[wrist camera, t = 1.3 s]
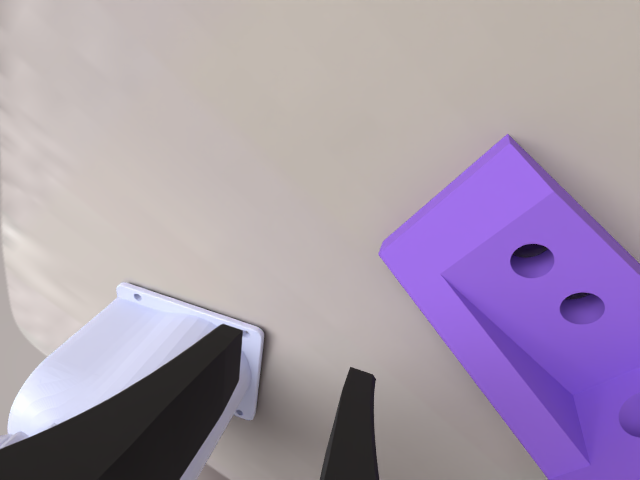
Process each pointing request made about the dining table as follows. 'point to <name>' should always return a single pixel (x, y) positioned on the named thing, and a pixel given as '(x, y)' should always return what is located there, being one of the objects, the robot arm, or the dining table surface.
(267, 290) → the dining table surface
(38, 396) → the robot arm
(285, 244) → the dining table surface
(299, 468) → the dining table surface
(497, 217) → the purple holed block
